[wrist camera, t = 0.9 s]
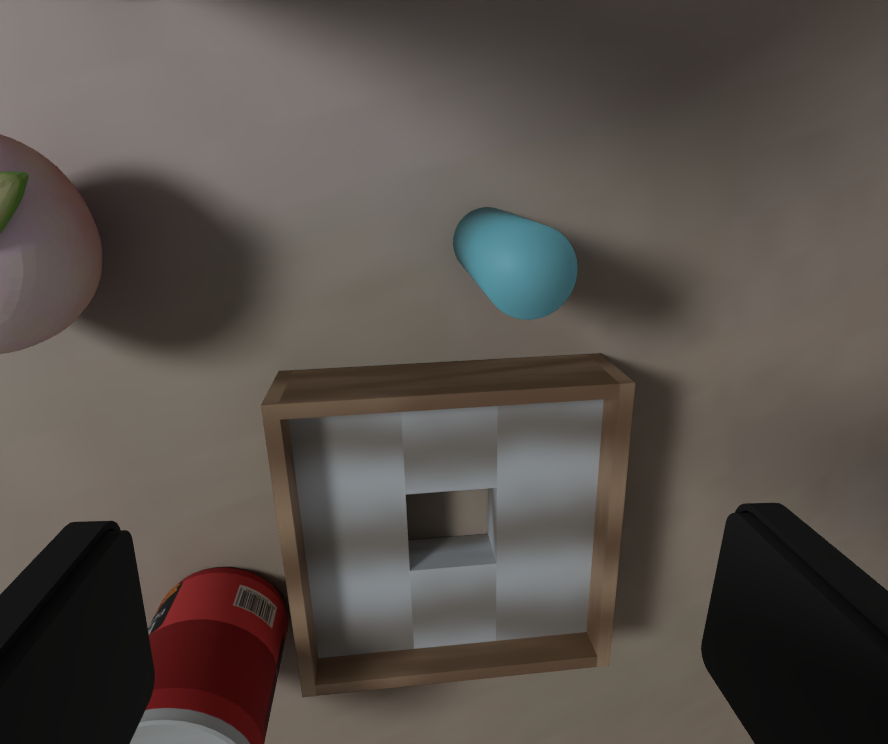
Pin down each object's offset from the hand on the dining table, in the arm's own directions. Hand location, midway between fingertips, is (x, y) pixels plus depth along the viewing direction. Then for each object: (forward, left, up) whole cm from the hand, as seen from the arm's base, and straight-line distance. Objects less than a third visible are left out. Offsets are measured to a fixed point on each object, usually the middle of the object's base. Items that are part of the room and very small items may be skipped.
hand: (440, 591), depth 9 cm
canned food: (+21, -12, -24) cm, 34 cm away
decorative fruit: (-3, -17, -24) cm, 30 cm away
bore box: (+14, +2, -24) cm, 28 cm away
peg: (-2, +5, -24) cm, 24 cm away
